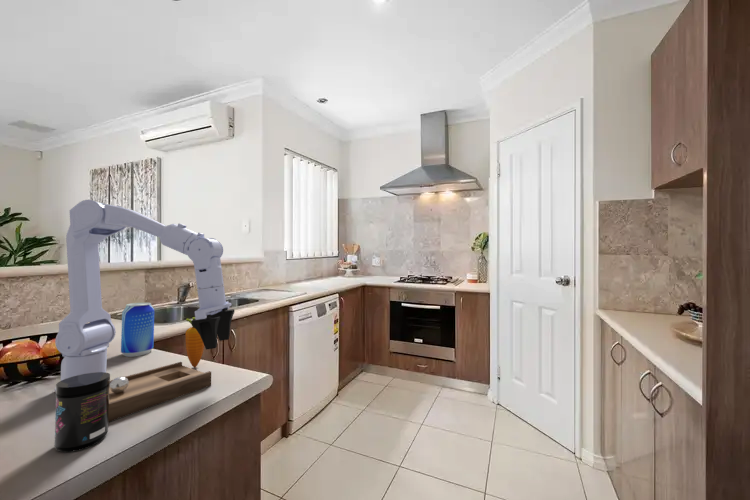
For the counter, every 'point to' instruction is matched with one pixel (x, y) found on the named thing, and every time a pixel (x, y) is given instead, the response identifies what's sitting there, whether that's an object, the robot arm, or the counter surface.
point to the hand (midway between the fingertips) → (218, 344)
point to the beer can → (137, 329)
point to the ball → (119, 384)
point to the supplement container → (81, 411)
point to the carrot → (194, 345)
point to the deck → (156, 388)
